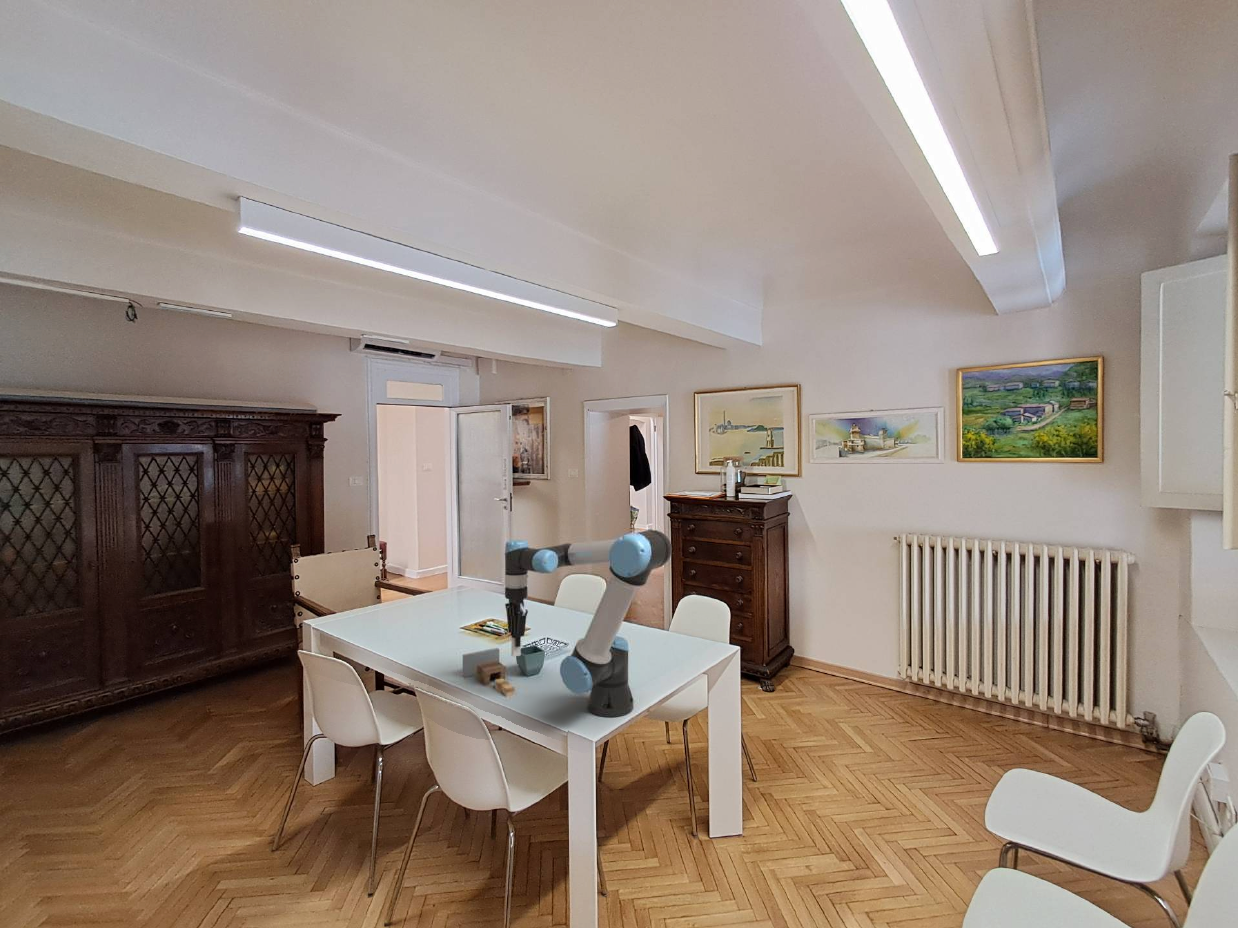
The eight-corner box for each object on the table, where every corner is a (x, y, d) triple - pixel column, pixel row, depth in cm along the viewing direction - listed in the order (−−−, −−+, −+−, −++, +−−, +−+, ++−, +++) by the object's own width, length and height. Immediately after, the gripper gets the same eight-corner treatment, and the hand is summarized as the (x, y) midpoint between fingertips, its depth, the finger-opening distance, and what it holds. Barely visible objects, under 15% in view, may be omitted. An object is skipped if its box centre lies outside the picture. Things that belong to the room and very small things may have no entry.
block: (505, 681, 210) (505, 666, 210) (484, 686, 206) (484, 670, 206) (496, 674, 217) (496, 660, 217) (476, 679, 212) (476, 664, 212)
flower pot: (524, 679, 212) (524, 655, 212) (514, 672, 219) (514, 649, 219) (545, 674, 217) (545, 650, 217) (534, 667, 224) (534, 644, 224)
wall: (499, 669, 222) (499, 649, 222) (464, 677, 214) (464, 656, 214) (497, 668, 224) (497, 647, 224) (462, 675, 216) (462, 654, 216)
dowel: (514, 695, 198) (514, 686, 198) (506, 697, 196) (506, 688, 196) (502, 686, 206) (502, 677, 206) (494, 688, 205) (494, 679, 205)
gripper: (535, 588, 190) (534, 658, 190) (518, 581, 201) (517, 648, 201) (514, 591, 186) (514, 663, 186) (498, 583, 196) (497, 652, 197)
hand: (516, 655), depth 193 cm, fingers closed
